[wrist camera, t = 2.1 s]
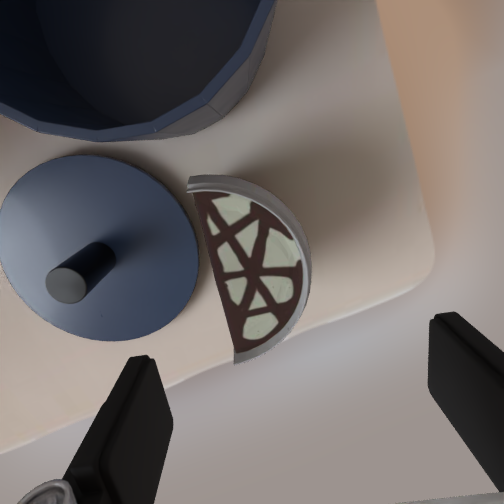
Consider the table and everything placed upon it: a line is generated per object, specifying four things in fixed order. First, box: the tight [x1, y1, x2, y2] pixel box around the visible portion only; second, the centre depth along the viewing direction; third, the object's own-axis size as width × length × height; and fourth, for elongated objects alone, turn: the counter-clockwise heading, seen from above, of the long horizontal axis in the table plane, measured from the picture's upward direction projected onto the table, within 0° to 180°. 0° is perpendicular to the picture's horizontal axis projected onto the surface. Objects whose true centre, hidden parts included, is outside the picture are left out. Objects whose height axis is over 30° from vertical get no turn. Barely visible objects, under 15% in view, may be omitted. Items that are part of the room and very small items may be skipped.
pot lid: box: [0, 155, 199, 341], centre depth 25 cm, size 17×17×7 cm
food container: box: [186, 175, 312, 365], centre depth 23 cm, size 12×6×10 cm, turn 12°
